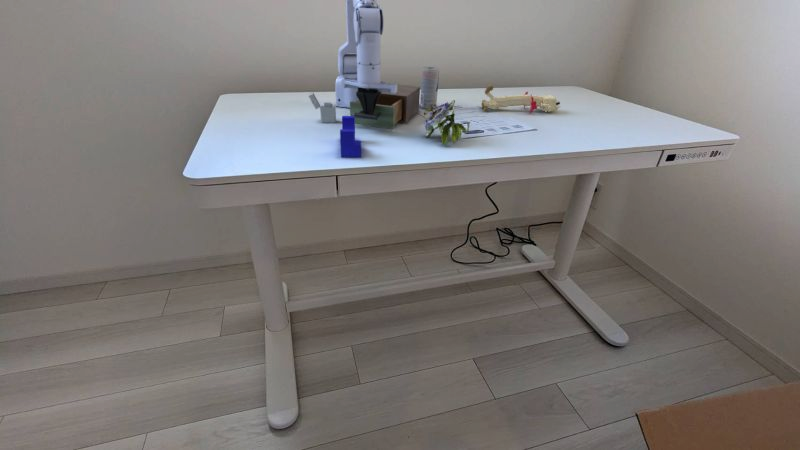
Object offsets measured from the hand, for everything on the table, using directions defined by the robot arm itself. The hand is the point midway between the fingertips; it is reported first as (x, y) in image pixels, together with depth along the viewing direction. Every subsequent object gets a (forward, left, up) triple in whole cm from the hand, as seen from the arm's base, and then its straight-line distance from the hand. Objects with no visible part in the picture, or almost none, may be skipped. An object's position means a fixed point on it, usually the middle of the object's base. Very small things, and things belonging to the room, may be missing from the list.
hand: (369, 118), depth 103 cm
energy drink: (+8, +32, -4) cm, 33 cm away
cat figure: (+37, +41, -4) cm, 55 cm away
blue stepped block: (+1, -13, -4) cm, 14 cm away
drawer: (0, +6, -3) cm, 6 cm away
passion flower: (+20, +3, -4) cm, 20 cm away
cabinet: (0, +18, -4) cm, 18 cm away
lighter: (-15, +3, -4) cm, 16 cm away
